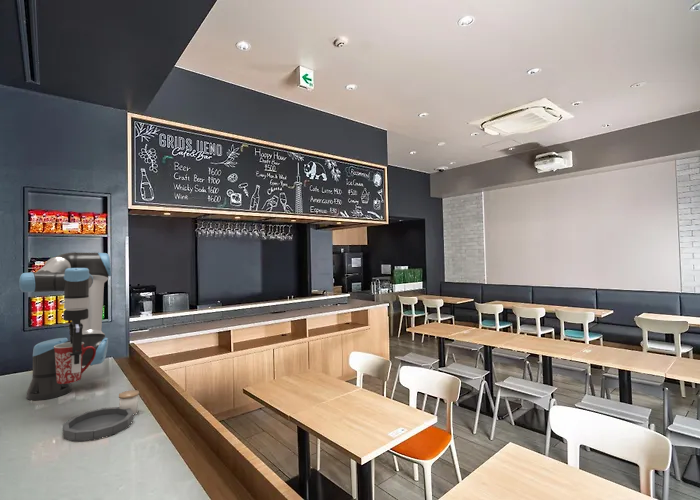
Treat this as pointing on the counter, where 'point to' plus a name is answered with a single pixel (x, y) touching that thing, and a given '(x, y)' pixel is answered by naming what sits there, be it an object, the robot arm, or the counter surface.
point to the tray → (97, 424)
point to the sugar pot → (129, 400)
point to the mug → (68, 363)
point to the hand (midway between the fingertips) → (75, 369)
